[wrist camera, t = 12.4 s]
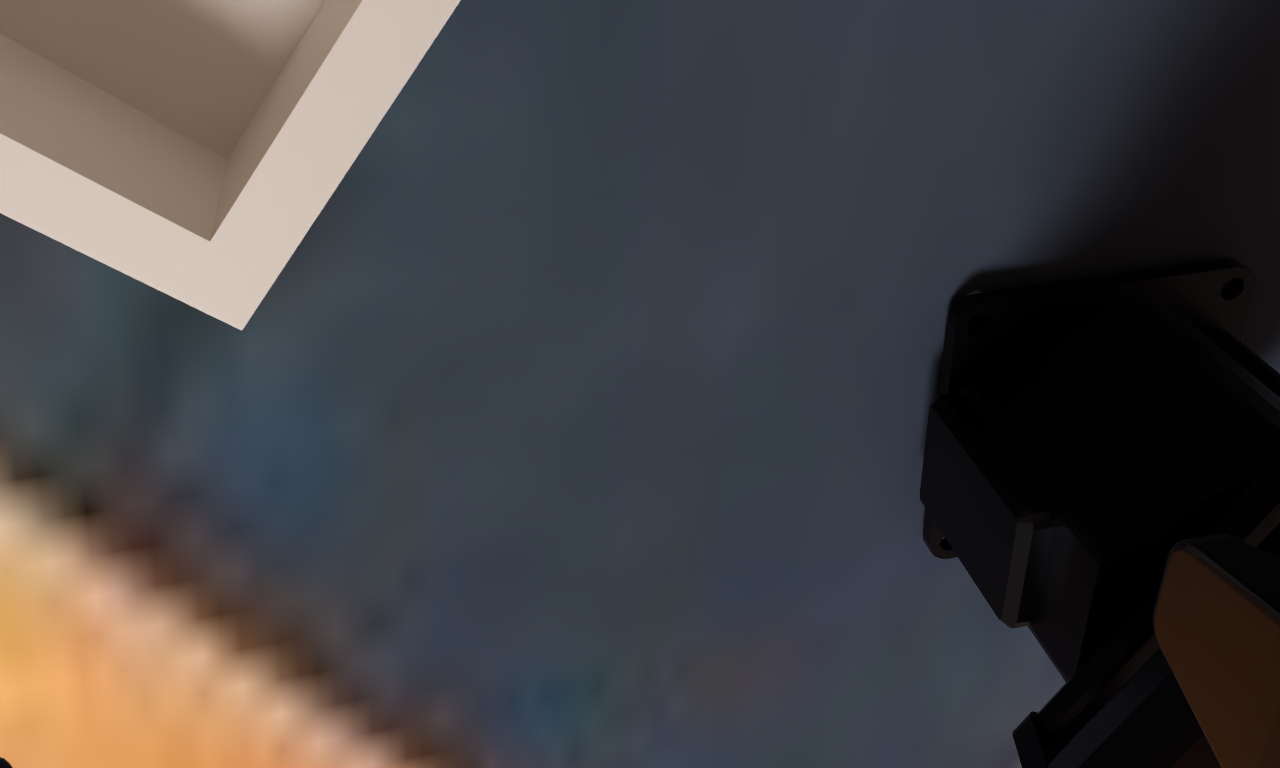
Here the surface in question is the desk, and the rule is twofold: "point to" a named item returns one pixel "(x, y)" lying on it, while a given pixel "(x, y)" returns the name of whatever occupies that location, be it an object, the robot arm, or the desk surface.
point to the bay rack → (195, 128)
